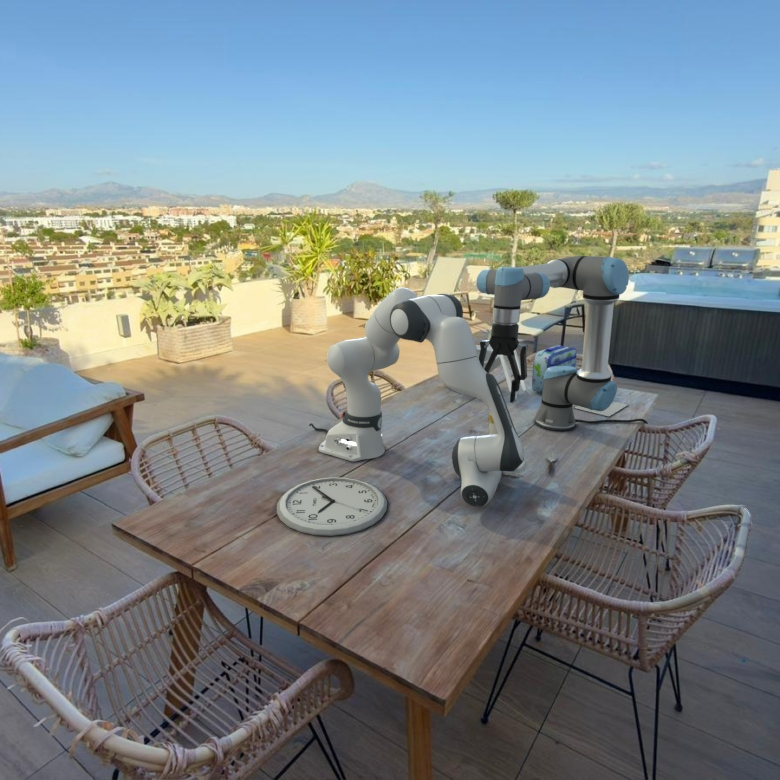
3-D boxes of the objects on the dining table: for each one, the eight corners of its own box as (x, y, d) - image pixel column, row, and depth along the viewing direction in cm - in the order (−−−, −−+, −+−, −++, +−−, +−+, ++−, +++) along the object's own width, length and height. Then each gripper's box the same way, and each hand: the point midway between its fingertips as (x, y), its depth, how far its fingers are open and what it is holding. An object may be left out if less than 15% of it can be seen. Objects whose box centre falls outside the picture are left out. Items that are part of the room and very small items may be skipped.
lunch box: (548, 398, 236) (553, 353, 229) (527, 393, 243) (531, 349, 237) (575, 387, 253) (581, 344, 247) (555, 382, 260) (560, 341, 254)
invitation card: (608, 416, 214) (573, 407, 224) (608, 416, 214) (573, 408, 224) (628, 404, 229) (594, 396, 238) (628, 405, 229) (594, 397, 238)
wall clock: (392, 527, 129) (268, 531, 127) (391, 533, 130) (269, 537, 127) (383, 473, 158) (282, 475, 155) (383, 478, 158) (282, 480, 156)
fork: (544, 474, 162) (545, 469, 162) (548, 455, 177) (548, 449, 176) (553, 476, 161) (554, 470, 161) (556, 456, 176) (557, 450, 175)
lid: (497, 425, 154) (498, 417, 154) (484, 420, 158) (485, 412, 158) (509, 421, 157) (510, 414, 157) (496, 416, 161) (497, 409, 161)
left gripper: (524, 467, 145) (530, 449, 157) (452, 455, 152) (463, 438, 164) (522, 488, 147) (528, 468, 159) (451, 475, 154) (462, 457, 166)
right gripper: (544, 324, 148) (536, 401, 155) (475, 317, 157) (471, 390, 163) (538, 328, 141) (530, 408, 148) (467, 321, 150) (462, 397, 157)
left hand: (494, 453), depth 162 cm, fingers open, 8 cm apart
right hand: (499, 399), depth 156 cm, fingers open, 7 cm apart
